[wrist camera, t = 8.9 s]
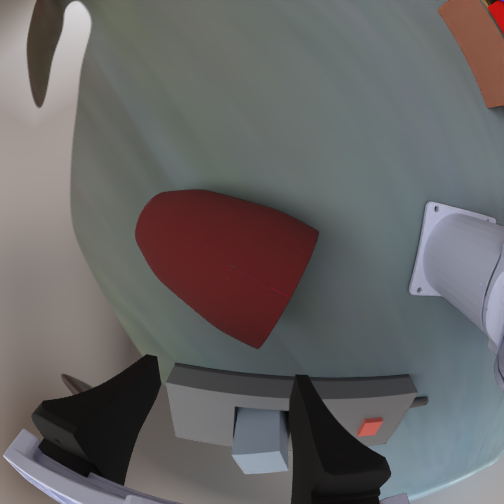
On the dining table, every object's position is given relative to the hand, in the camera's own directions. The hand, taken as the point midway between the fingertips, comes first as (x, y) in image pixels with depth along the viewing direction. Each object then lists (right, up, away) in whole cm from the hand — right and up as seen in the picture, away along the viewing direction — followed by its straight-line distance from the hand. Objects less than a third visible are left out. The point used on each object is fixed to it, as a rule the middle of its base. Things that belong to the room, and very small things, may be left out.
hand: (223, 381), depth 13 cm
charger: (+3, -9, +12) cm, 15 cm away
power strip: (+8, -10, +12) cm, 17 cm away
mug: (-6, +8, +6) cm, 11 cm away
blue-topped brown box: (+31, +29, 0) cm, 42 cm away
